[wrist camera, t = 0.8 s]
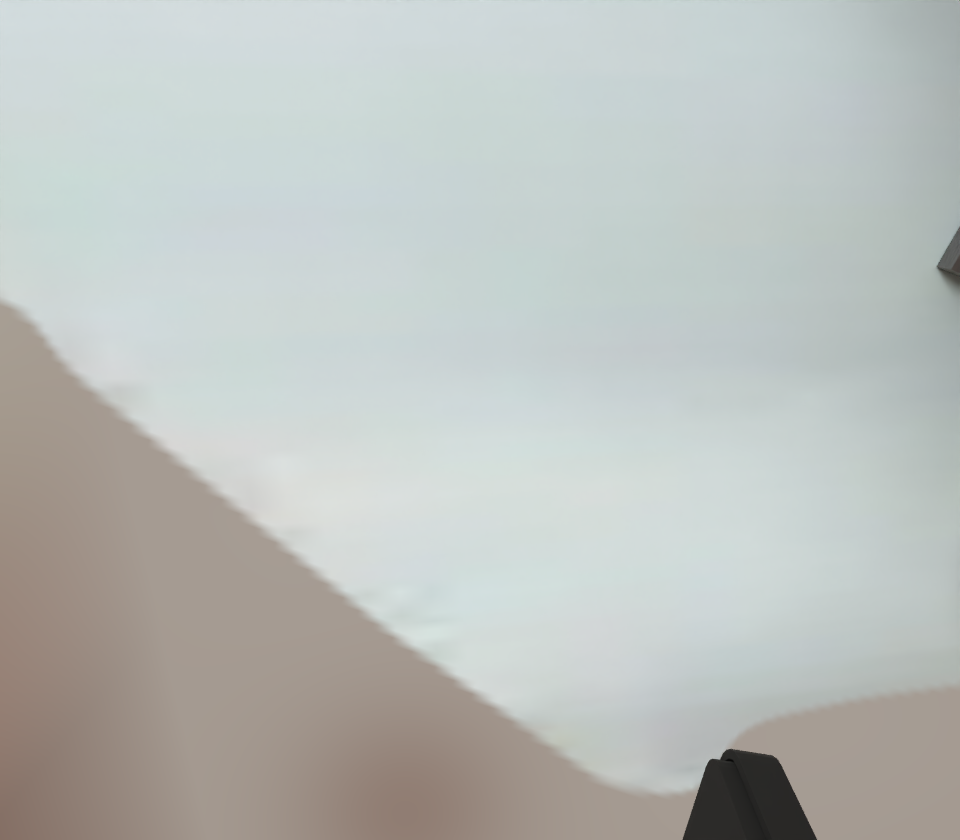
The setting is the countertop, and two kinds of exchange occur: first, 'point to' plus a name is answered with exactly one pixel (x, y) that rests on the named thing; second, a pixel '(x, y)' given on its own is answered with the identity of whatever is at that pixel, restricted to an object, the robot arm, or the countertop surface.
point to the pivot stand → (952, 256)
